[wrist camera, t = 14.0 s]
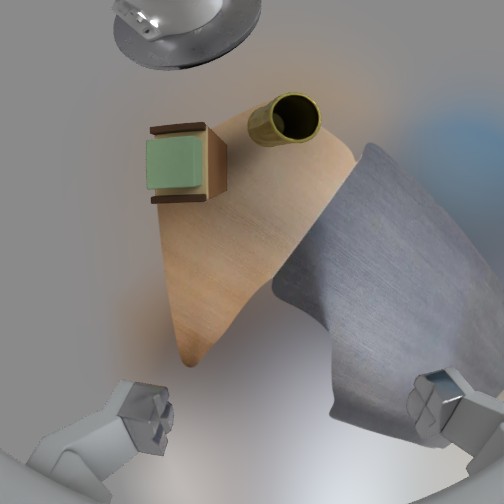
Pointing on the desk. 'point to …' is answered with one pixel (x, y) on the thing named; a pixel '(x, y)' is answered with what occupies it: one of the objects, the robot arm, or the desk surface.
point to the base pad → (211, 164)
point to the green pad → (174, 162)
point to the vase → (285, 121)
